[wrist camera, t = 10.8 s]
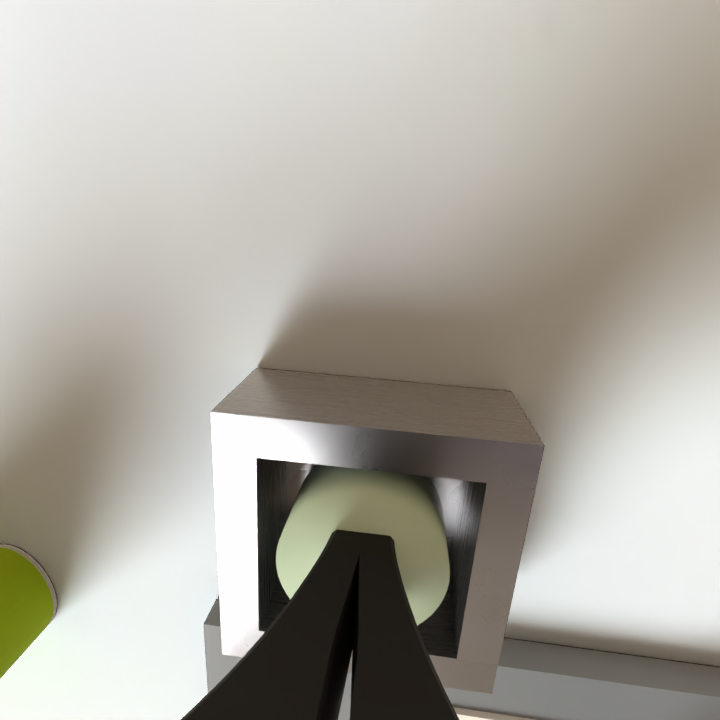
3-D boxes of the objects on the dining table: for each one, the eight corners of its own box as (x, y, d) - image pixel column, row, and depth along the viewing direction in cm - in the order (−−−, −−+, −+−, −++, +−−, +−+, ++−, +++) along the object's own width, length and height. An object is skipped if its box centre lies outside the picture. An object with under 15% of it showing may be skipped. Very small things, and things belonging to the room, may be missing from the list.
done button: (451, 457, 11) (460, 505, 9) (434, 582, 12) (438, 647, 10) (297, 441, 11) (276, 484, 10) (295, 564, 13) (276, 624, 11)
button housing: (511, 391, 12) (544, 445, 9) (474, 597, 14) (491, 693, 11) (256, 367, 12) (210, 412, 9) (258, 569, 14) (222, 654, 12)
